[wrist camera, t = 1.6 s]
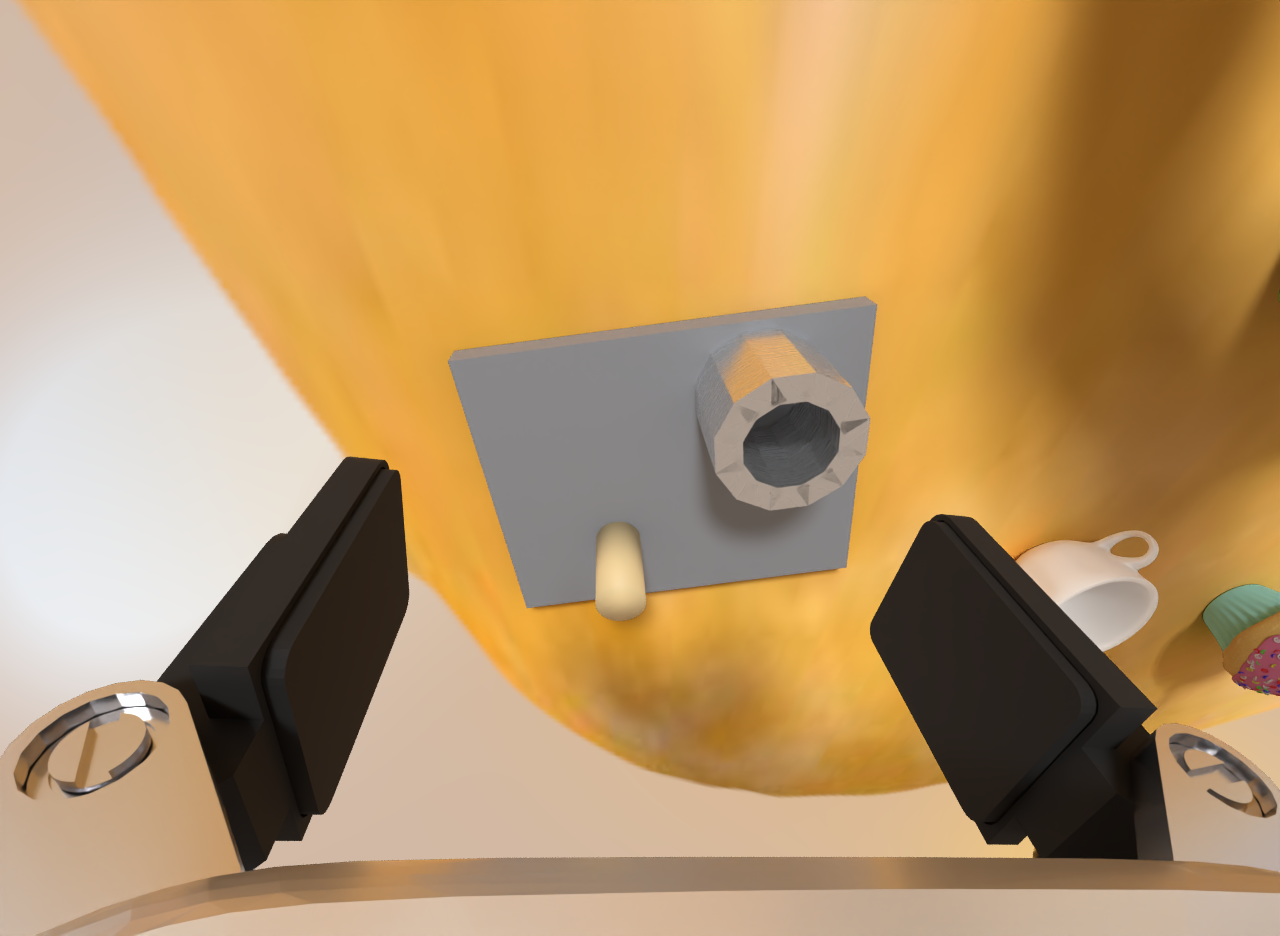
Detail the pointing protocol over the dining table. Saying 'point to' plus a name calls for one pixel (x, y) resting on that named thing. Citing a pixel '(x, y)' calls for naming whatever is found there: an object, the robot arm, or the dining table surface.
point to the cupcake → (1248, 635)
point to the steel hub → (792, 446)
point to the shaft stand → (642, 459)
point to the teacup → (1096, 585)
